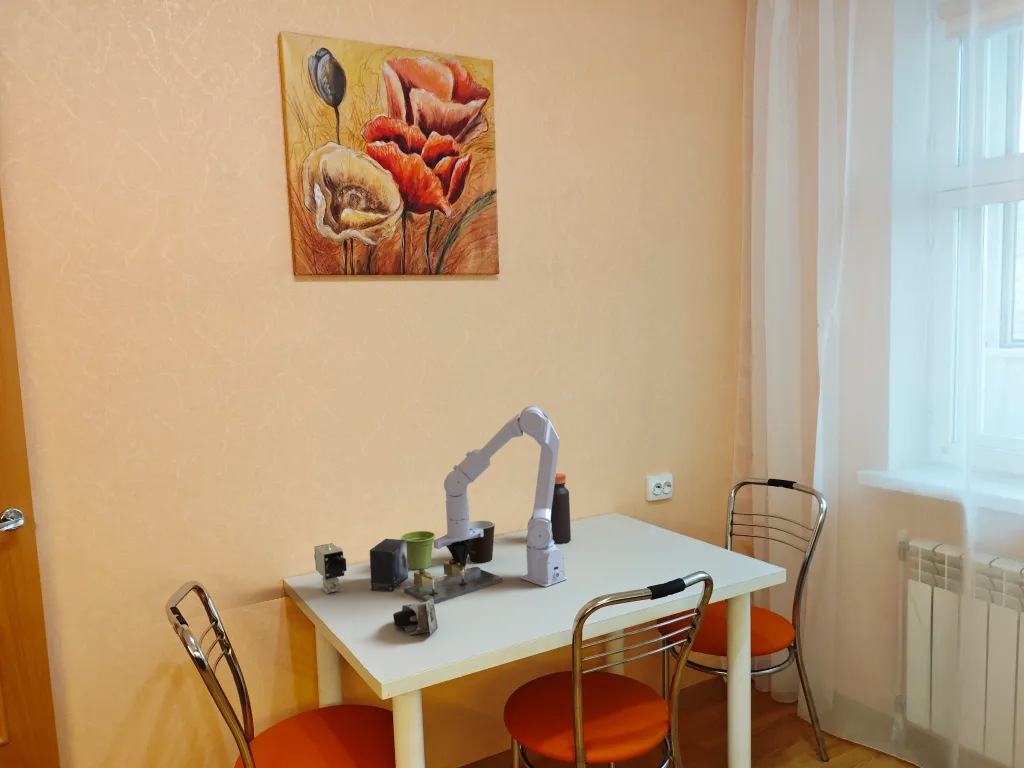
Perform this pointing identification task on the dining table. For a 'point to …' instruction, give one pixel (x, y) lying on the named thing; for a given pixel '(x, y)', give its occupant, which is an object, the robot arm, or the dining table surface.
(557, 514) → the bottle
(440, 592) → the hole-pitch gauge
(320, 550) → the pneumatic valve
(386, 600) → the dining table surface
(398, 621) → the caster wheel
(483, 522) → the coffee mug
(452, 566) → the sliding leg
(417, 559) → the plant pot
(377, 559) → the small box
